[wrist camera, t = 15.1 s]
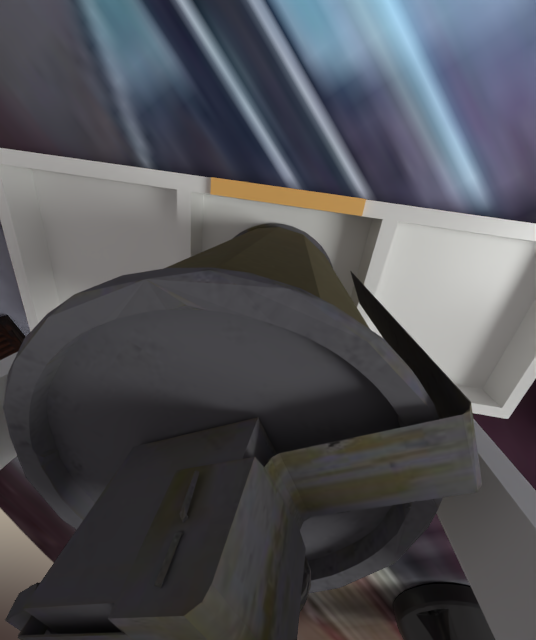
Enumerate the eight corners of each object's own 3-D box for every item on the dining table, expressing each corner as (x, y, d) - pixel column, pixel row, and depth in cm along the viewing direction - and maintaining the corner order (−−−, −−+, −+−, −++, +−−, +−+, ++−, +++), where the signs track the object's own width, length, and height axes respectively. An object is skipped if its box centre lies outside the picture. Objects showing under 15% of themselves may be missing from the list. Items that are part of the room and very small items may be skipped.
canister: (242, 354, 25) (97, 749, 7) (192, 252, 21) (-397, 489, 3) (354, 320, 22) (612, 804, 4) (317, 198, 19) (908, -125, 1)
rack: (575, 232, 19) (640, 238, 15) (481, 392, 25) (512, 423, 21) (28, 155, 21) (-29, 143, 17) (63, 321, 27) (26, 338, 23)
